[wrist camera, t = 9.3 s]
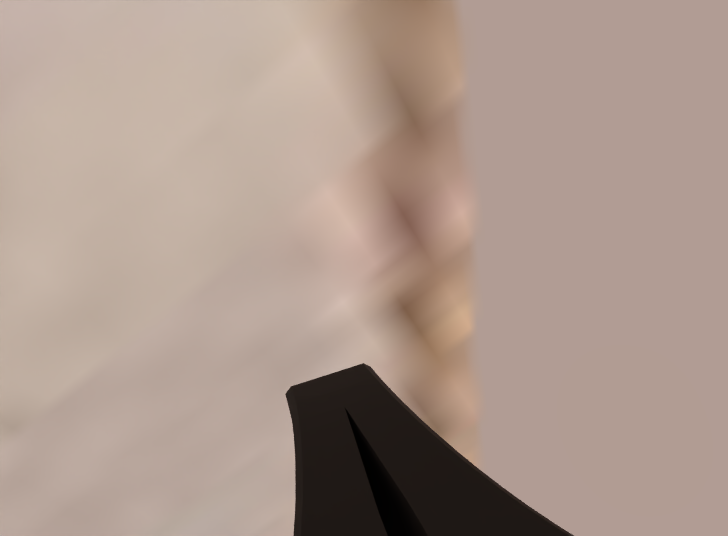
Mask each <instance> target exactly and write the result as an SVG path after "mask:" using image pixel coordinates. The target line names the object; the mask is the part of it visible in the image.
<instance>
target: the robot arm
mask: <svg viewBox="0 0 728 536" xmlns="http://www.w3.org/2000/svg"><path fill="white" fill-rule="evenodd" d="M286 398H287V402H288V406H289V410H290V414H291V418H292V423H293V432H294V444H295V460H296V504H295V522H294V536H573V535H572V534H570V533H569V532H567V531H565V530H564V529H562V528H561V527H559V526H558V525H556V524H554V523H553V522H552V521H550V520H549V519H547V518H545V517H544V516H542V515H541V514H539V513H538V512H537V511H535V510H534V509H532V508H531V507H529V506H528V505H526V504H525V503H524V502H522V501H521V500H519V499H518V498H516V497H515V496H514V495H512V494H511V493H510V492H508V491H507V490H506V489H504V488H503V487H501V486H500V485H499V484H498V483H496V482H495V481H494V480H492V479H491V478H490V477H488V476H487V475H486V474H485V473H483V472H482V471H481V470H479V469H478V468H477V467H476V466H474V465H473V464H472V463H471V462H469V461H468V460H467V459H466V458H465V457H463V456H462V455H461V454H460V453H458V452H457V451H456V450H455V449H454V448H453V447H452V446H450V445H449V444H448V443H447V442H446V441H445V440H444V439H442V438H441V437H440V436H439V435H438V434H437V433H435V432H434V431H433V430H432V429H431V428H430V427H429V426H428V425H427V424H425V423H424V422H423V421H422V420H421V419H420V418H419V417H418V416H417V415H416V414H415V413H414V412H413V411H412V410H411V409H410V408H409V407H408V406H407V405H405V404H404V403H403V402H402V401H401V400H400V399H399V398H398V397H397V396H396V394H395V393H394V392H393V391H392V390H391V389H390V388H389V387H388V386H387V385H386V384H385V383H384V382H383V381H382V380H381V378H380V377H379V376H378V375H377V374H376V373H375V372H374V371H373V369H372V368H371V367H370V366H368V365H366V364H364V363H363V364H360V365H357V366H354V367H351V368H348V369H344V370H341V371H338V372H335V373H332V374H329V375H326V376H323V377H319V378H316V379H313V380H310V381H307V382H304V383H301V384H298V385H295V386H291V387H290V389H289V390H288V391H287V393H286Z"/></svg>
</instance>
